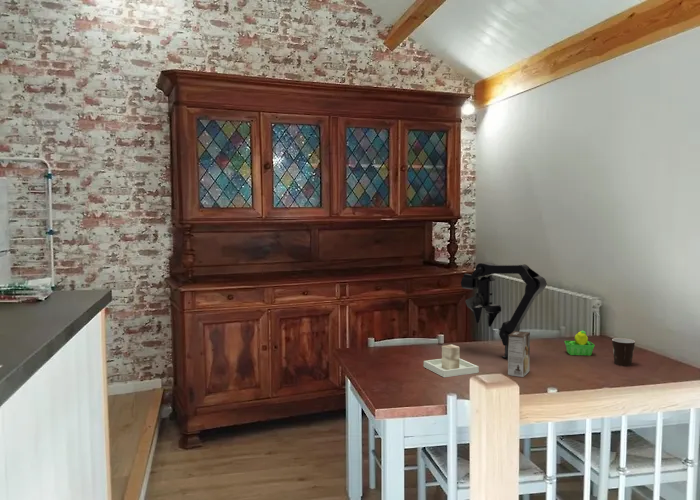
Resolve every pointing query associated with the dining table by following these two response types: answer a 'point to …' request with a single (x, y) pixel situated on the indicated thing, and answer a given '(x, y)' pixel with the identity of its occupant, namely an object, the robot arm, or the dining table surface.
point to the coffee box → (518, 353)
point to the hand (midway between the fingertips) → (483, 324)
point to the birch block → (450, 357)
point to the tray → (462, 370)
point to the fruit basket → (580, 345)
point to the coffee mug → (623, 351)
